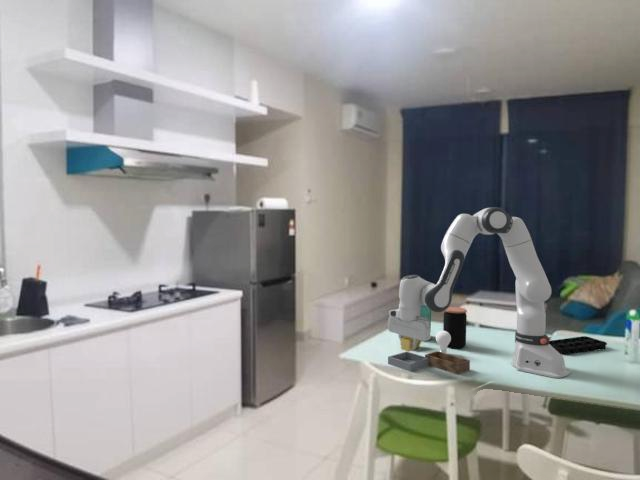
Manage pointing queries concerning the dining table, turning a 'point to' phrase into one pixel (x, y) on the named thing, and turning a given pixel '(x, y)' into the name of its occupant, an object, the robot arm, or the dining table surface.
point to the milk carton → (425, 313)
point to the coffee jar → (455, 326)
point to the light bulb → (443, 340)
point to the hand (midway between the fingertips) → (408, 346)
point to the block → (407, 344)
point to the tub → (408, 361)
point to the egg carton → (577, 345)
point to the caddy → (448, 362)
